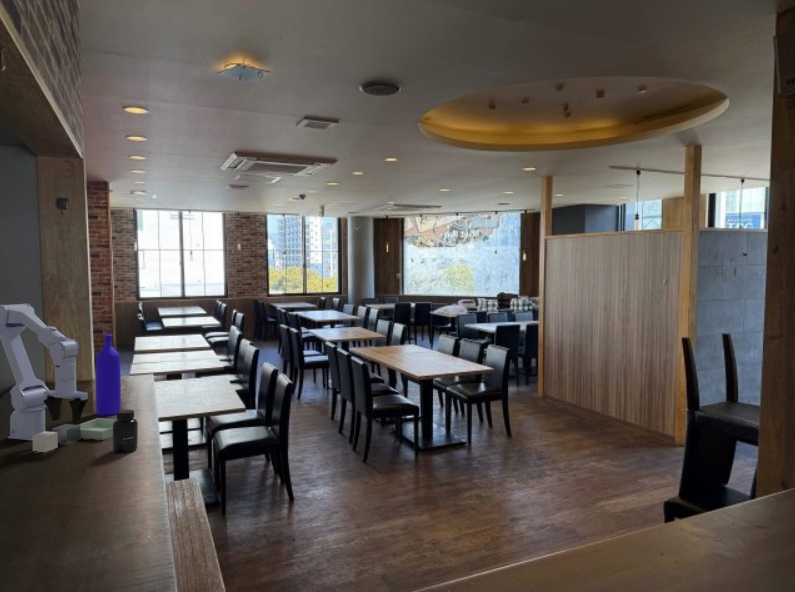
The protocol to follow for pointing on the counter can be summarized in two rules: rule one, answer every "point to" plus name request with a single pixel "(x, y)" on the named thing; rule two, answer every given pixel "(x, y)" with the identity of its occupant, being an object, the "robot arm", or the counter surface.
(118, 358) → the bottle
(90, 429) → the tray
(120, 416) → the supplement bottle
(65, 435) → the grey square block
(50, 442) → the carton
